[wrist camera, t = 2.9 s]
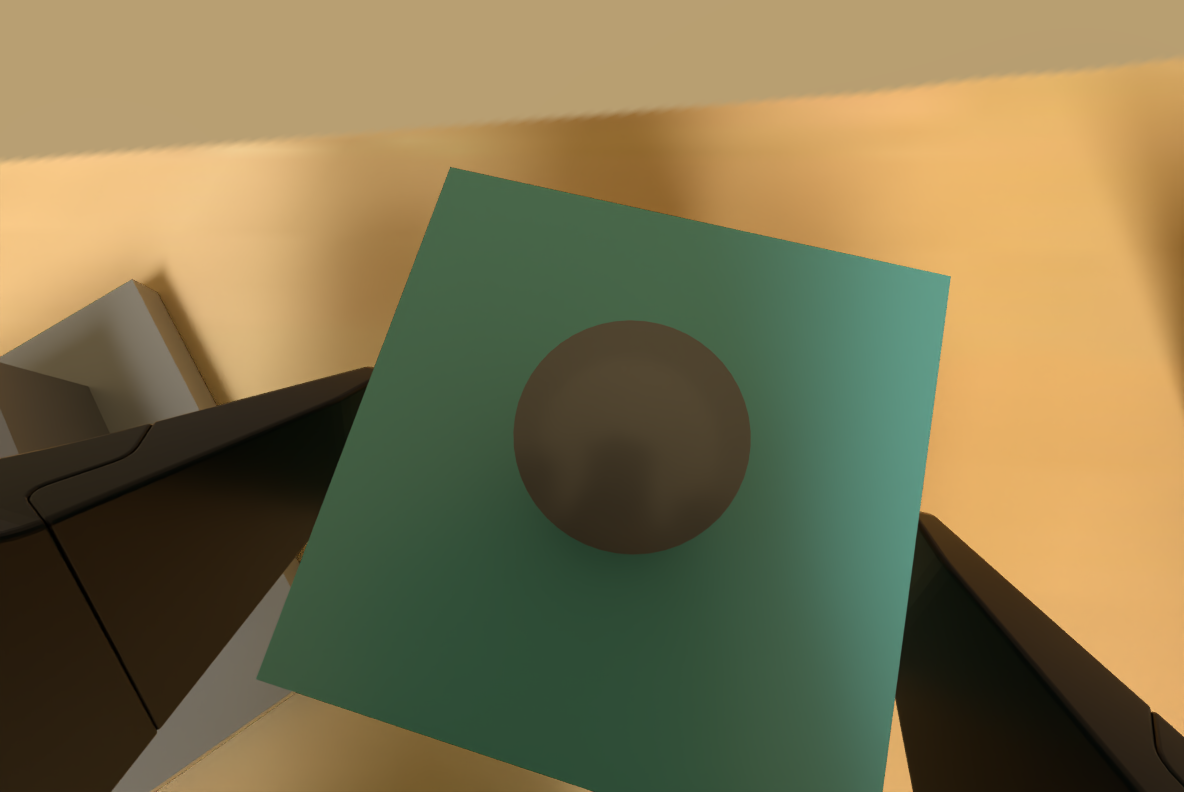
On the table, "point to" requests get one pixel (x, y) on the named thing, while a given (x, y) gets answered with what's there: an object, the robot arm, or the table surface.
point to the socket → (117, 402)
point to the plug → (627, 501)
